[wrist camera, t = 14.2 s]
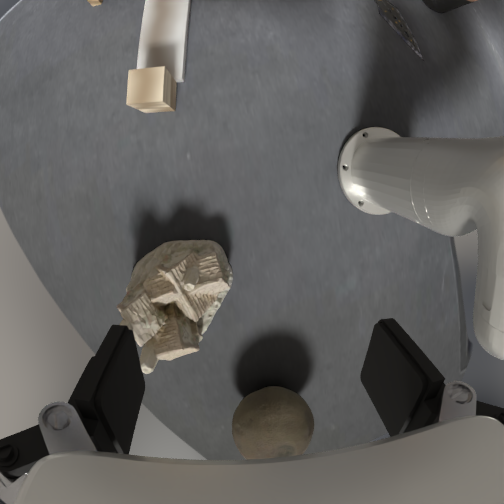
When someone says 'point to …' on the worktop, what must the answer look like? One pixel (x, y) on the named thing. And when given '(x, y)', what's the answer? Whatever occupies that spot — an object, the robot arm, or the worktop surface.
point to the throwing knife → (397, 23)
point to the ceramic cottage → (175, 298)
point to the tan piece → (160, 56)
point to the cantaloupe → (272, 424)
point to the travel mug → (445, 4)
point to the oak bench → (95, 2)
